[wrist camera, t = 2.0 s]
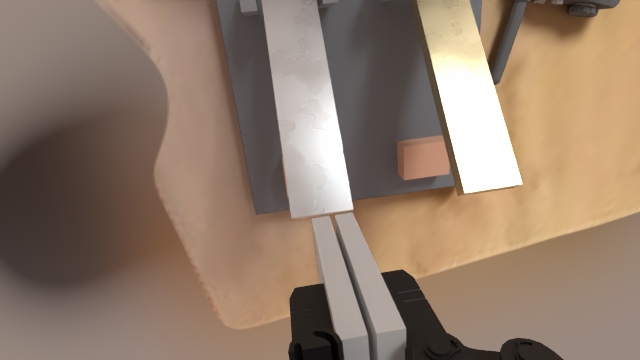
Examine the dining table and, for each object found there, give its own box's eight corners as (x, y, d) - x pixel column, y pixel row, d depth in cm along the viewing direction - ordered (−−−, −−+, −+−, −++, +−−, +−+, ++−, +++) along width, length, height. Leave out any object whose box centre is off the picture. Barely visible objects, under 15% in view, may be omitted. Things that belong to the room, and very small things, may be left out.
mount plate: (211, -39, 27) (196, -60, 21) (471, -64, 28) (520, -88, 23) (256, 205, 34) (253, 237, 29) (461, 175, 36) (496, 200, 30)
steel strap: (260, -9, 25) (257, -27, 24) (311, -14, 25) (311, -33, 24) (292, 221, 21) (291, 217, 20) (350, 212, 22) (354, 208, 20)
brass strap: (402, -23, 26) (408, -42, 24) (449, -28, 26) (458, -47, 25) (455, 197, 22) (467, 191, 21) (510, 189, 23) (525, 183, 21)
